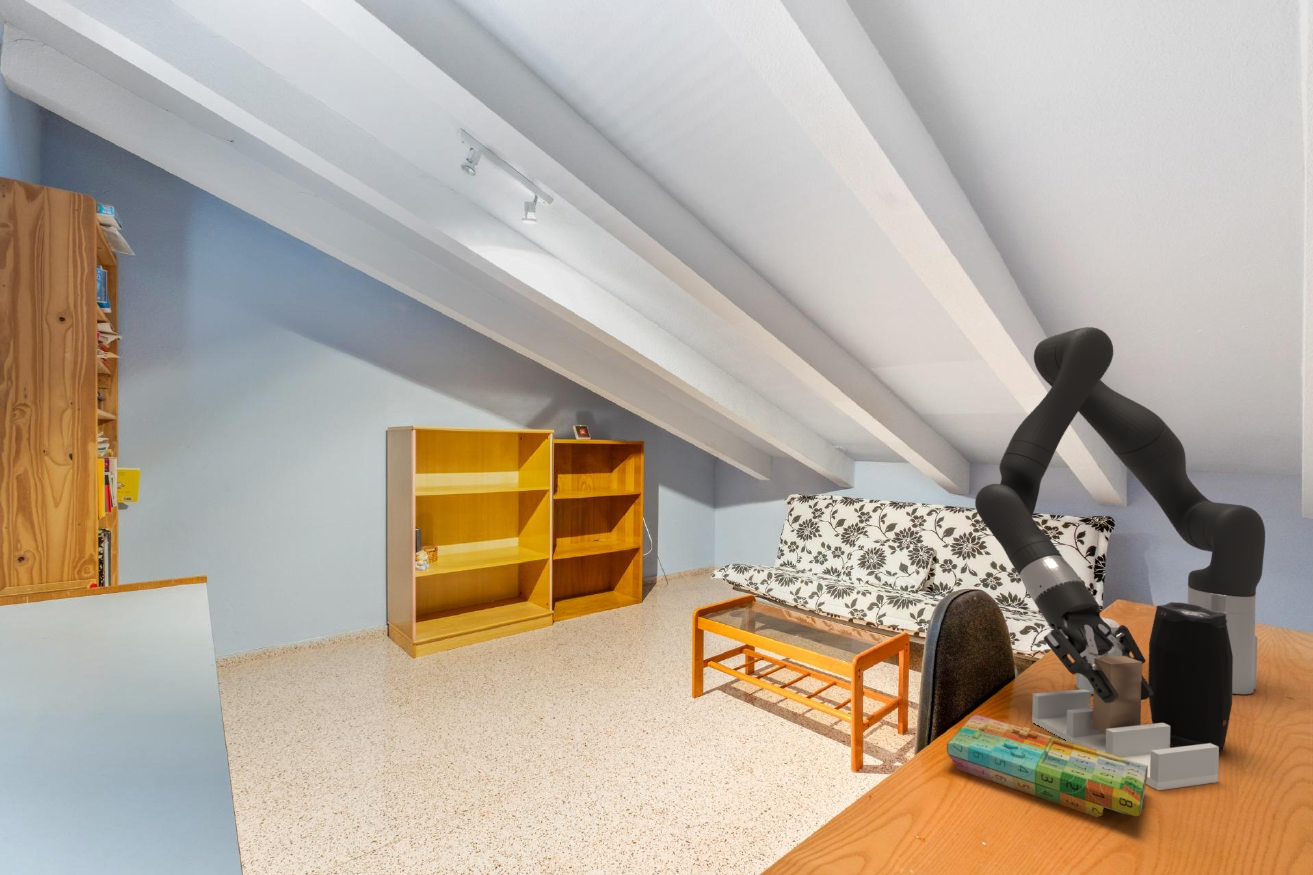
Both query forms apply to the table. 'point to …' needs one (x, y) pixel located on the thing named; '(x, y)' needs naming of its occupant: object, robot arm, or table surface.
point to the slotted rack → (1127, 741)
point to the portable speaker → (1191, 674)
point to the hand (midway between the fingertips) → (1129, 698)
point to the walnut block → (1127, 685)
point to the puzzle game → (1049, 767)
